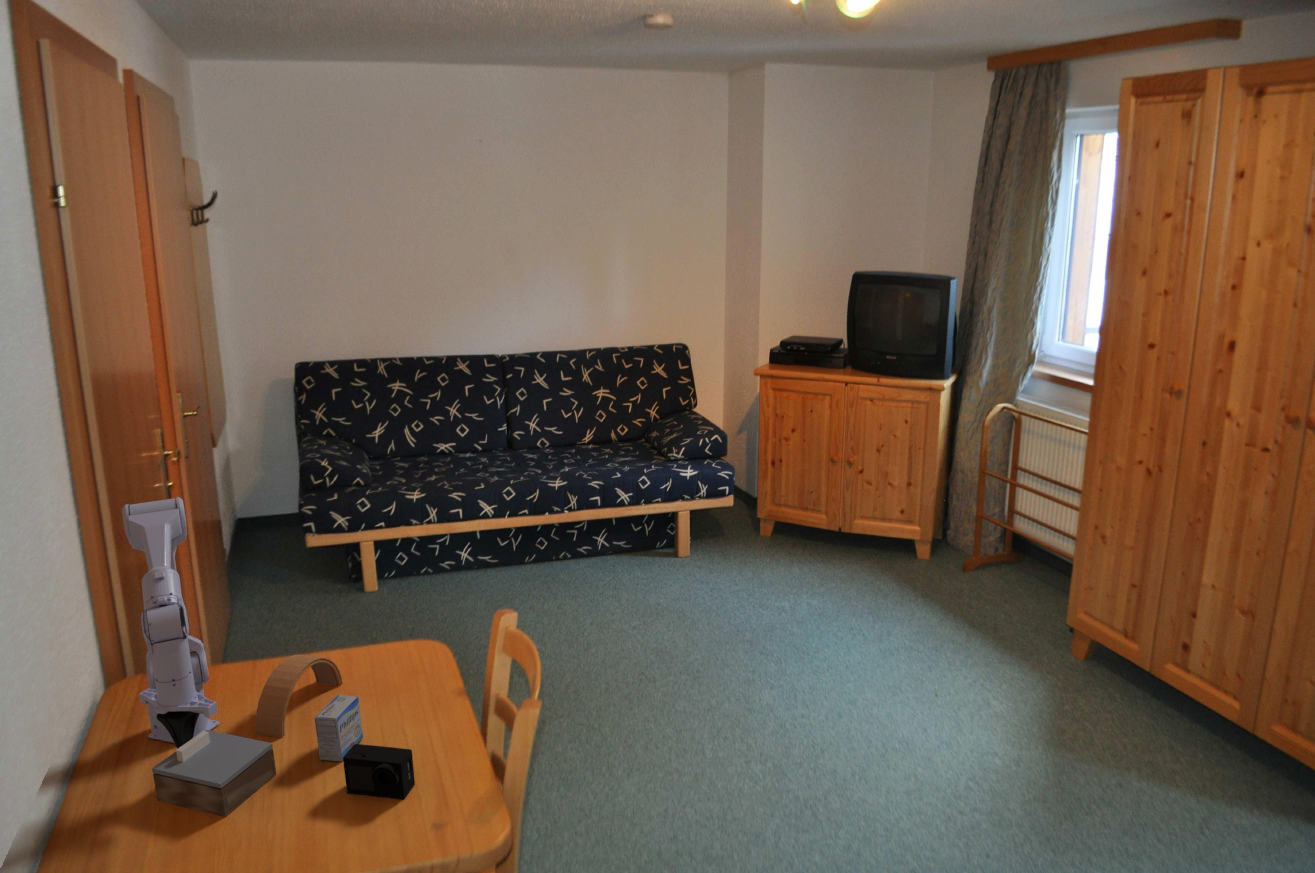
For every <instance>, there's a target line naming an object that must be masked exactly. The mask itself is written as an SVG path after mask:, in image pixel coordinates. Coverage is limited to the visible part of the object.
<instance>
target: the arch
mask: <svg viewBox="0 0 1315 873" xmlns="http://www.w3.org/2000/svg"><path fill="white" fill-rule="evenodd" d="M309 668H311V670H312V672H313V674H314V677H315V683H316V684H318V685H324V686H330V687H331V686H332V687H342V686H343V677H342V674H341V671H340V669H339V667H338V665H337V664H336V663H335V661H333V660H332V659H330V658H327V657H323V656H322V657H321V656H313V655H306V654H305V655H303V654H293V655H290V656H288V657H286V658H285V659H283V660H281V661H280V663H279V664H278V665H277V666H276V667H274V669H273V670H272V672H271V673H270V675H269V676H268V678H267V680H266V681H265V683H264V684H263V685H264V686H263V688H262V691H261V693H260V696H259V699H258V703H257V708H256V712H255V713H256V715H255V735H258V736H259V735H260V736H261V735H262V736H267V737H273V738H281V739H282V738H284V737H285V736H286V733H285V732H286V731H285V722H286V715H287V714H286V713H287V709H288V708H287V707H288V705H289V702H290V699H291V696H292V693H293V691H294V688H295V686H296V684H297V683H298V682H299V680H300V678H301V677H302V676H303V674H304V673H305V672H306V671H307V670H308V669H309Z"/></svg>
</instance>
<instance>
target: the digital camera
mask: <svg viewBox="0 0 1315 873" xmlns="http://www.w3.org/2000/svg"><path fill="white" fill-rule="evenodd" d="M342 763H343V771H344V778H345V786H346V794H348V795H349V794H350V795H358V796H364V797H372V798H375V797H376V798H382V799H383V798H384V799H392V800H403V801H404V800H406V798H407V797H408V795H409V794H410V793H411V791H412V789H413V788H414V787H415V785H416V781H415V770H414V760H413V750H412V749H410V748H409V749H408V748H401V747H391V746H381V745H371V744H362V743H361V744H359V743H358V744H354V745H353V747H352V748H351V749H350V750H349V751H348V752H347V753H346V755H345V756H344V757H343V761H342Z"/></svg>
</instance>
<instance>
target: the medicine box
mask: <svg viewBox="0 0 1315 873" xmlns="http://www.w3.org/2000/svg"><path fill="white" fill-rule="evenodd" d="M360 707H361V706H360V698H359V697H358V696H352V695H345V694H344V695H343V694H338V695H336V696H335V697H334V698H333V699H332V700H331V701H330V702H329V703H328V704H327V705H326V706H325V707H324V708H323V709H322V710H321V711H320V712H319V713H318V714H317V715H316V716H314V725H315V726H314V727H315V732H316V741H317V747H318V755H319V760H321V761H329V762H330V761H331V762H341V763H343V757H344V756H345V755H346V753H347V752H348V751H349V750H350V749H351V748H352V747H353V745H354V744H359V743H360V742H361V741H362V740H363V738H364V733H363V732H364V731H363V725H362V716H361V715H362V714H361V708H360Z"/></svg>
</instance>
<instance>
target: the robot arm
mask: <svg viewBox="0 0 1315 873" xmlns="http://www.w3.org/2000/svg"><path fill="white" fill-rule="evenodd" d="M121 512H122V521H123V528H124V532H125V536H126V538H127V541H128V543H129V545H130V546H131V548H132V549H133V550H135V551H136V550H137V551H142V552H143V553H144V555H145V560H146V563H147V564H146V565H147V570H148V571H147V572H146V573H145V574H144V575H143V576H142V578H141V589H142V599H143V611H144V613H143V612H141V617H140V618H141V619H140V621H141V627H142V628H141V629H142V634H143V638H144V641H145V643H146V648H147V653H146V655H145V662H146V665H145V667H146V676H147V684H148V688H146V689H145V690H143V691H141V692H139V694H138V696H139V702H140V705H144V706H147V712H148V719H149V723H150V729H151V732H150V733H149V734H148V735H147V736H148V738H149V739H153V740H158V741H163V742H167V743H172V744H175V746H176V748H177V749H178V748H180V747H181V746H183V745H184V744H185V743H187V742H188V741H190V740H191V739H193V738H194V737H195V736H197V735H198V734H200V733H201V732H202V731H206V730H210V731H213V729H215V728H216V727H217V726H219V725H220V721H219V720H216V719H215V720H214V719H210V718H211V717H212V716H214V715H216V714H217V713H218V712H219V710H218V704H217V701H214V700H211V699H209V698H208V697H206V696H205V693H204V684H207V683H208V682H209V681H210V675H209V669H208V661H207V654H206V651H205V647H204V646H205V645H204V643H203V642H202V640H200V639H199V638H197V637H194V636H193V635H189V634H190V624H189V620H188V612H187V608H186V606H185V603H184V599H183V595H182V585H181V579H180V574H179V572H178V571H177V563H176V553H177V548H178V546H179V545H180V544H182V543H184V542H186V541H187V536H188V530H187V526H188V524H187V518H186V510H185V505H184V500H183V499H182V498H181V497H180V496H177V497H175V498H167V499H161V500H153V501H147V502H141V503H140V502H139V503H133V504H129V503H127V504H124V506H123V507H122V509H121Z"/></svg>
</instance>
